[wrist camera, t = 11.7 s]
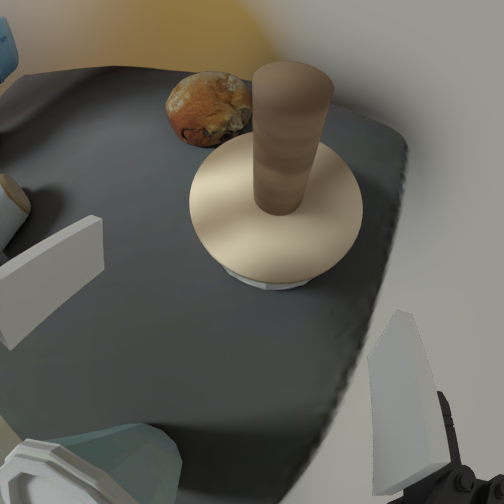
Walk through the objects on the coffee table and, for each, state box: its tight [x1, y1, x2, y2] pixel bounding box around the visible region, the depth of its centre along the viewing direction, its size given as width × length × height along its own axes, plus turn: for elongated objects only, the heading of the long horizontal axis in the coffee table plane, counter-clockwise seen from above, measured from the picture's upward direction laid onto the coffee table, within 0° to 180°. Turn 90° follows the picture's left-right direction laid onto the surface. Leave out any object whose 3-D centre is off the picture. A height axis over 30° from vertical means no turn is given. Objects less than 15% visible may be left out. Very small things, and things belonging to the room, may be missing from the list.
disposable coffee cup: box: [0, 423, 183, 504], centre depth 12 cm, size 11×11×15 cm
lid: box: [189, 61, 363, 284], centre depth 16 cm, size 13×13×11 cm
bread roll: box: [165, 71, 253, 147], centre depth 28 cm, size 10×10×8 cm
